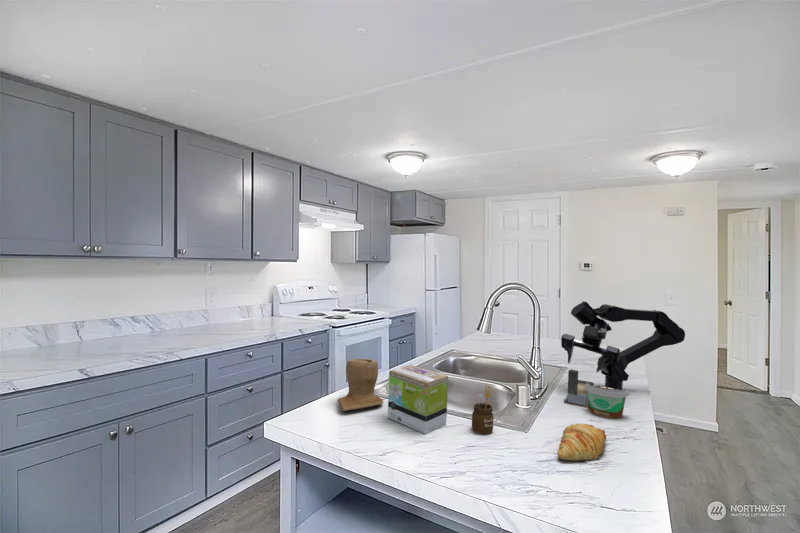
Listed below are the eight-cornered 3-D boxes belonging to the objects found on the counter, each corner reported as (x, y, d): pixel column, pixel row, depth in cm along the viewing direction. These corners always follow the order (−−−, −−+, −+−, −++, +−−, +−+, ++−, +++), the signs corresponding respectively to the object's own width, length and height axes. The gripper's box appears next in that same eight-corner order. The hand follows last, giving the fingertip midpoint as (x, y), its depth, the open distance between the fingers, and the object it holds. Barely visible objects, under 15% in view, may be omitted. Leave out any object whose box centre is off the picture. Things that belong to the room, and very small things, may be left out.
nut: (576, 393, 145) (576, 382, 145) (588, 395, 143) (589, 384, 143) (574, 396, 142) (574, 385, 142) (586, 399, 140) (587, 387, 140)
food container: (582, 418, 125) (583, 386, 125) (583, 411, 131) (584, 381, 131) (627, 427, 120) (629, 393, 119) (627, 420, 125) (628, 388, 125)
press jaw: (568, 399, 137) (569, 369, 137) (587, 403, 134) (588, 372, 134) (567, 402, 135) (568, 370, 135) (585, 406, 132) (587, 374, 132)
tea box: (386, 419, 121) (387, 369, 120) (408, 410, 128) (410, 363, 128) (425, 435, 110) (427, 381, 110) (447, 424, 118) (449, 374, 117)
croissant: (570, 482, 96) (586, 459, 93) (537, 447, 102) (551, 425, 99) (610, 454, 109) (626, 433, 106) (579, 425, 116) (593, 405, 113)
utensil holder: (467, 431, 114) (469, 388, 114) (478, 423, 119) (479, 383, 119) (487, 437, 110) (488, 393, 110) (496, 429, 115) (498, 387, 115)
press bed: (571, 393, 149) (572, 378, 148) (595, 398, 144) (596, 382, 144) (563, 406, 135) (564, 389, 135) (589, 412, 131) (589, 394, 131)
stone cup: (371, 396, 139) (372, 353, 139) (387, 408, 129) (389, 361, 129) (329, 403, 132) (330, 357, 131) (343, 416, 121) (344, 366, 121)
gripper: (568, 311, 147) (553, 344, 139) (625, 325, 136) (614, 362, 128) (568, 330, 154) (554, 363, 146) (623, 345, 143) (612, 381, 135)
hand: (582, 366), depth 138 cm, fingers open, 9 cm apart
